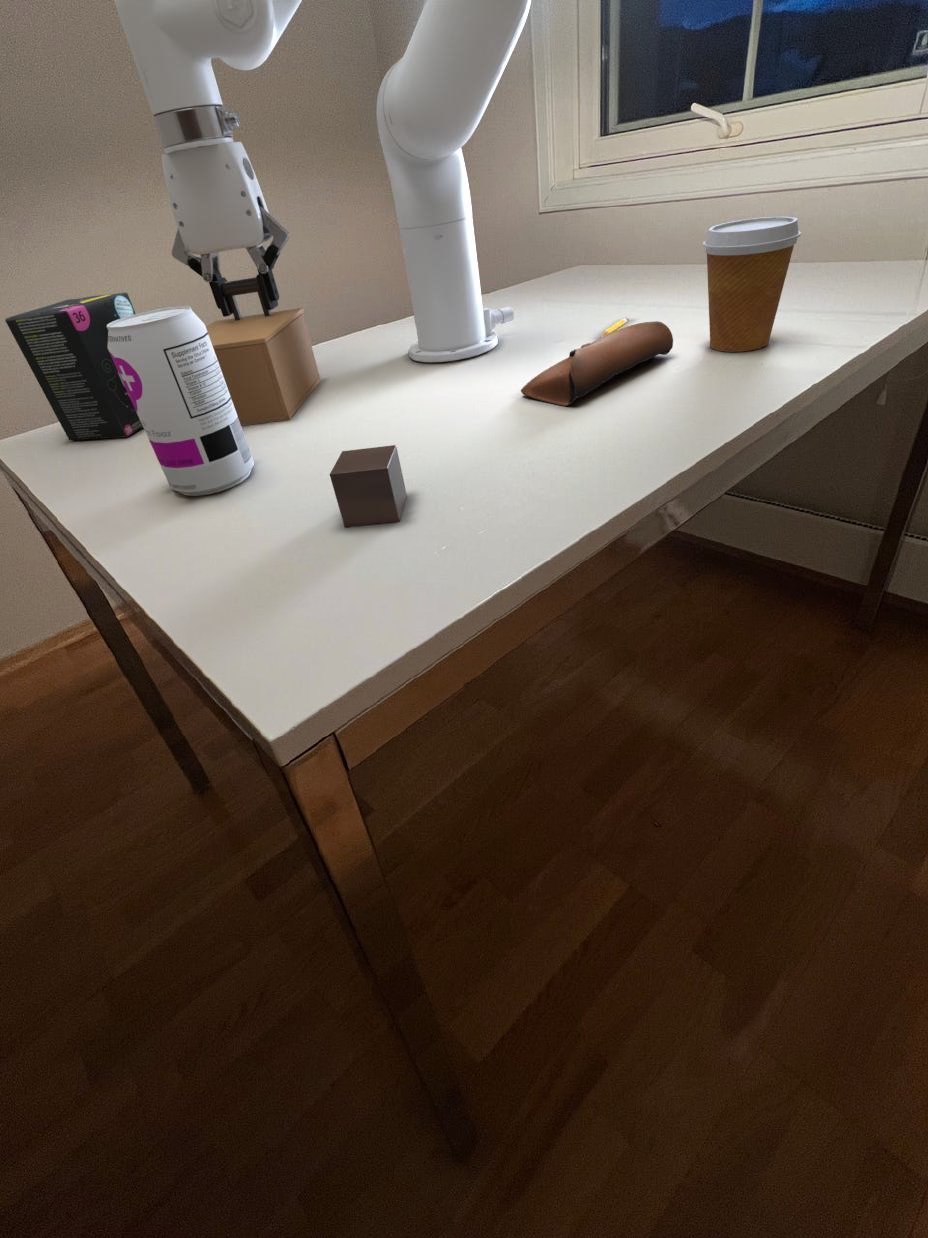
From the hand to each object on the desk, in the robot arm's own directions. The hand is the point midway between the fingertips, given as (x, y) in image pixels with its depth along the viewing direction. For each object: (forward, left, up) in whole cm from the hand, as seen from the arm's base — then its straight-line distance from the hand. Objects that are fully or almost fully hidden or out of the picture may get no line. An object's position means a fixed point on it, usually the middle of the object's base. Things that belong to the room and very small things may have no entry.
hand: (250, 309), depth 80 cm
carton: (+4, +5, -10) cm, 12 cm away
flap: (+3, +5, -1) cm, 6 cm away
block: (+6, +45, -10) cm, 47 cm away
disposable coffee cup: (-44, +39, -10) cm, 60 cm away
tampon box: (+20, -5, -10) cm, 23 cm away
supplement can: (+15, +26, -10) cm, 32 cm away
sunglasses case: (-27, +34, -10) cm, 45 cm away
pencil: (-43, +20, -11) cm, 48 cm away
